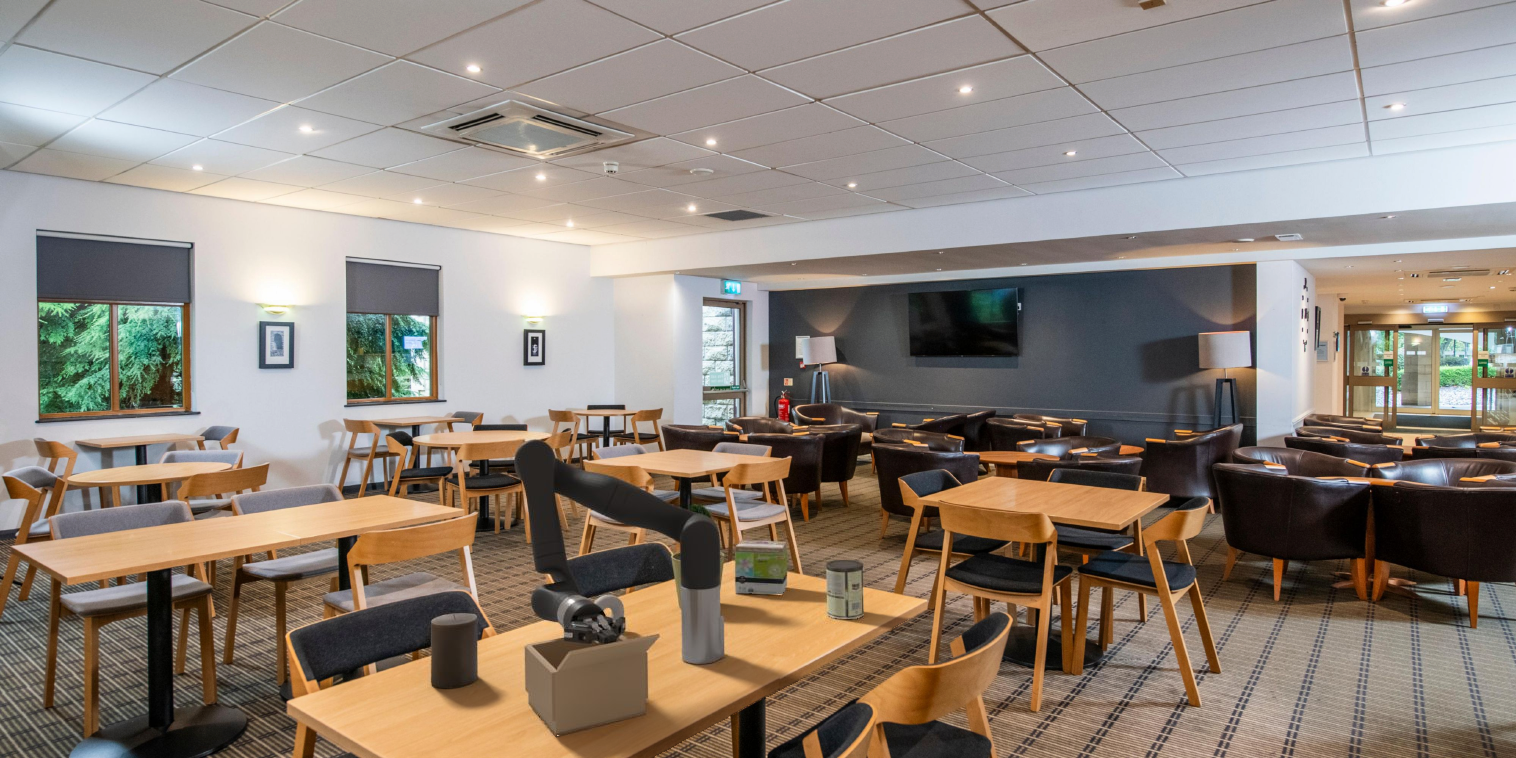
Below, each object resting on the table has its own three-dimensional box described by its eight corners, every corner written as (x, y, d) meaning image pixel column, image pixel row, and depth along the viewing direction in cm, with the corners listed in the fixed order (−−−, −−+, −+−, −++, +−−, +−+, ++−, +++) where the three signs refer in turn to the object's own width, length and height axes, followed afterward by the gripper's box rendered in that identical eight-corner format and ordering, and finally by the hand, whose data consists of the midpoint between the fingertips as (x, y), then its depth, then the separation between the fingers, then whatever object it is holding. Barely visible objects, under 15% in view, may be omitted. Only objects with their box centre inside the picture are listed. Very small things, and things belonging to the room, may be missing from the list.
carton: (613, 683, 174) (612, 628, 174) (648, 713, 159) (647, 652, 159) (524, 703, 164) (523, 644, 164) (552, 737, 148) (551, 672, 148)
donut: (592, 639, 204) (592, 599, 204) (586, 635, 207) (585, 597, 207) (627, 630, 211) (626, 592, 211) (620, 627, 213) (620, 590, 213)
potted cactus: (660, 608, 230) (659, 504, 230) (694, 596, 243) (693, 497, 243) (702, 617, 221) (701, 508, 221) (735, 604, 234) (734, 501, 234)
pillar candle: (450, 692, 171) (450, 621, 171) (421, 683, 176) (421, 614, 176) (487, 677, 179) (487, 610, 179) (458, 669, 184) (458, 604, 184)
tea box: (734, 594, 244) (734, 546, 244) (740, 586, 254) (740, 539, 254) (783, 596, 242) (782, 547, 242) (787, 587, 252) (787, 540, 252)
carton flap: (659, 633, 152) (659, 636, 151) (643, 650, 158) (644, 653, 157) (569, 651, 142) (570, 654, 142) (556, 668, 149) (557, 671, 148)
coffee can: (836, 607, 229) (836, 557, 229) (870, 612, 224) (869, 561, 224) (819, 616, 221) (819, 565, 221) (853, 622, 215) (853, 569, 215)
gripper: (548, 604, 159) (576, 626, 144) (611, 594, 166) (644, 614, 151) (548, 641, 159) (576, 668, 144) (612, 630, 166) (645, 654, 151)
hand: (611, 641), depth 148 cm, fingers closed
